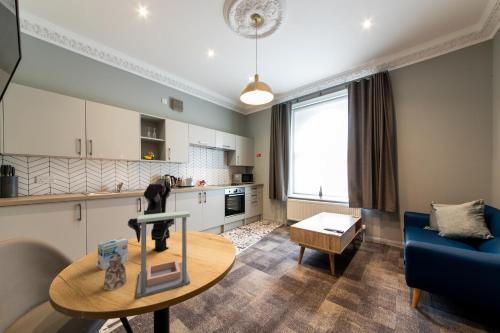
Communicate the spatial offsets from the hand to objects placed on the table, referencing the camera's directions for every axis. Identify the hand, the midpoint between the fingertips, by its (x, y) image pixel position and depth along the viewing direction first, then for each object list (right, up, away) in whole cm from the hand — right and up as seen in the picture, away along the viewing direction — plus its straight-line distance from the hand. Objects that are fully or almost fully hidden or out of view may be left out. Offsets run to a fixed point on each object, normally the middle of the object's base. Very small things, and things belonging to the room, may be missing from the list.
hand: (150, 241), depth 82 cm
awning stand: (+8, -13, -4) cm, 16 cm away
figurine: (-9, -14, -9) cm, 19 cm away
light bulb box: (-23, -15, +8) cm, 28 cm away
